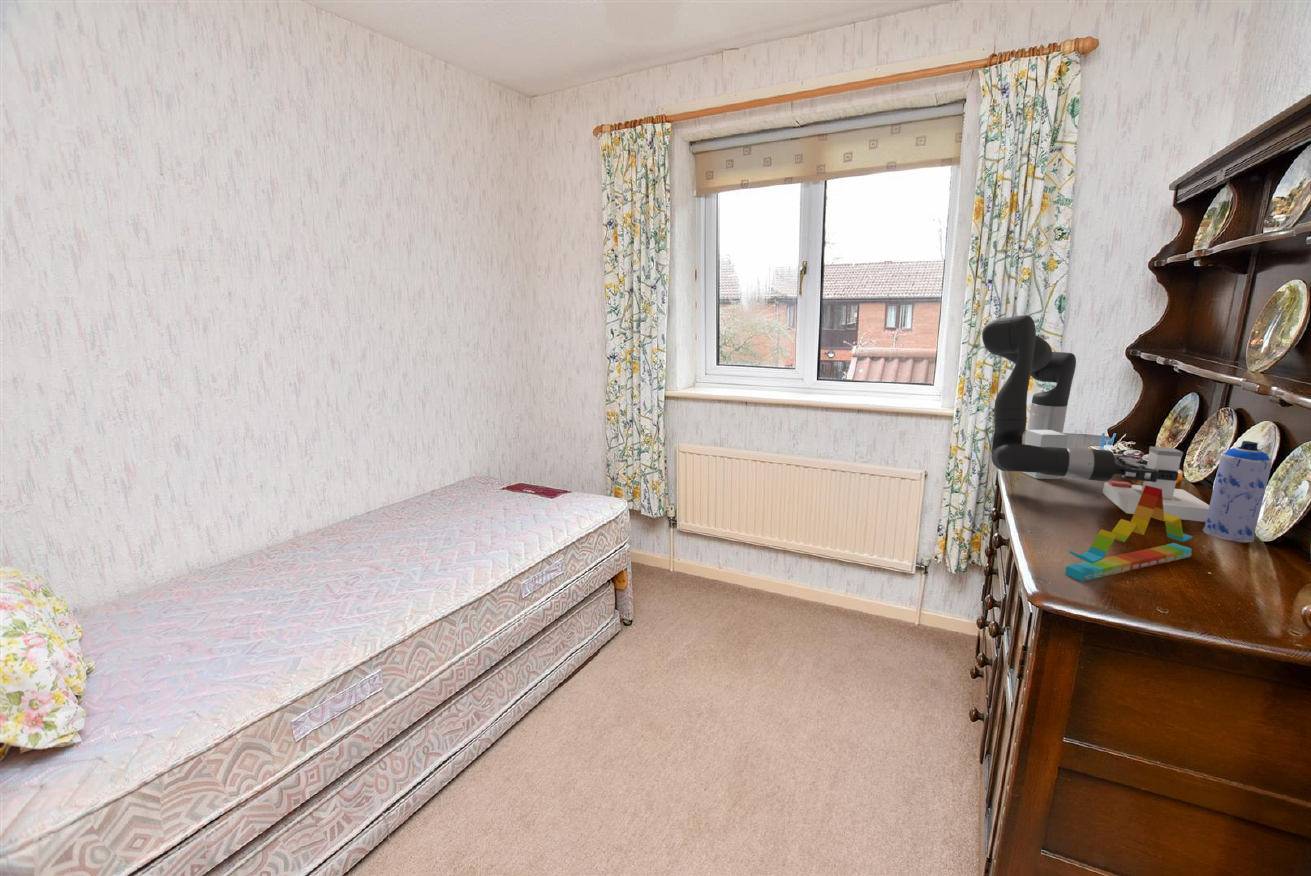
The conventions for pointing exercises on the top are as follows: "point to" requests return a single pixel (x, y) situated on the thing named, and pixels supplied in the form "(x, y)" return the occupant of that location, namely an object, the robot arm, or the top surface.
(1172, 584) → the top surface
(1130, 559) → the chart
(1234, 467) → the aerosol can
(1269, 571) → the top surface
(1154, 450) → the tall white box
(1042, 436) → the supplement box
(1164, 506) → the socket
